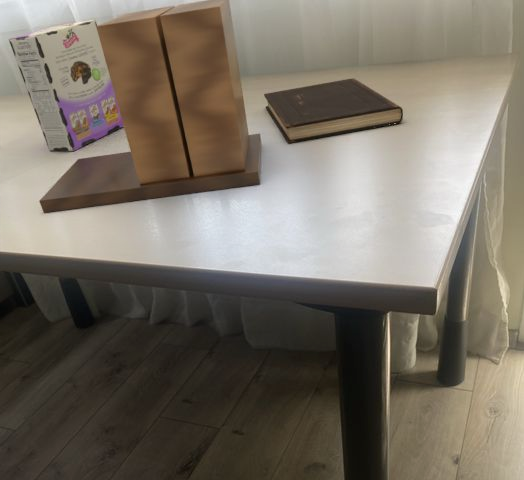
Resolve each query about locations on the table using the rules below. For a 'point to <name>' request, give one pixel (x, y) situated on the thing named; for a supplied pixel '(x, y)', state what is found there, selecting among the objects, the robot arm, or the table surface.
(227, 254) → the table surface
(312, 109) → the hardcover book
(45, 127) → the candy box
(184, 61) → the split wooden block stand
